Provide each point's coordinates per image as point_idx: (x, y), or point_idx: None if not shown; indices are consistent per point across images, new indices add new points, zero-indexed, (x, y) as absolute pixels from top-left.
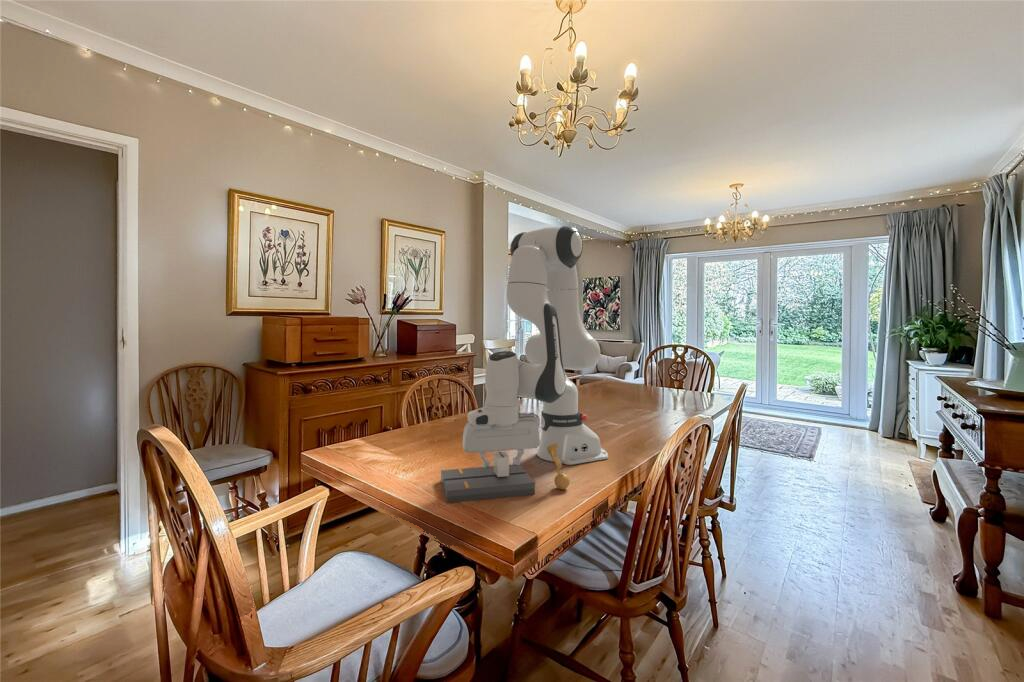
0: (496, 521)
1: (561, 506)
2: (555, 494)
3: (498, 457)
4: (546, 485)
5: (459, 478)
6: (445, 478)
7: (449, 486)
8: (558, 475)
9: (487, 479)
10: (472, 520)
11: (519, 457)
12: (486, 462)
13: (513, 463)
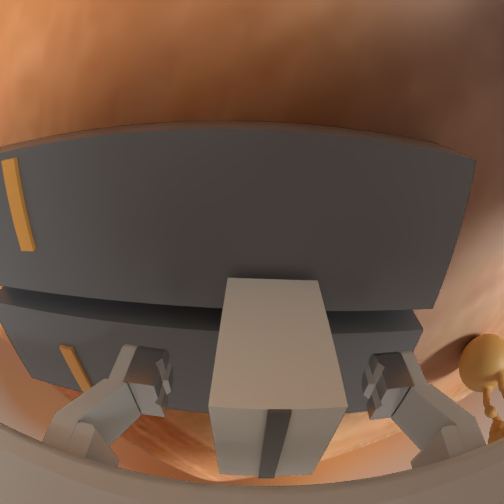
0: (192, 446)
1: (384, 425)
2: (427, 375)
3: (227, 470)
4: (458, 311)
5: (32, 286)
6: None
7: (25, 354)
8: (483, 384)
9: (170, 355)
10: (135, 430)
11: (407, 428)
12: (140, 411)
13: (371, 370)
